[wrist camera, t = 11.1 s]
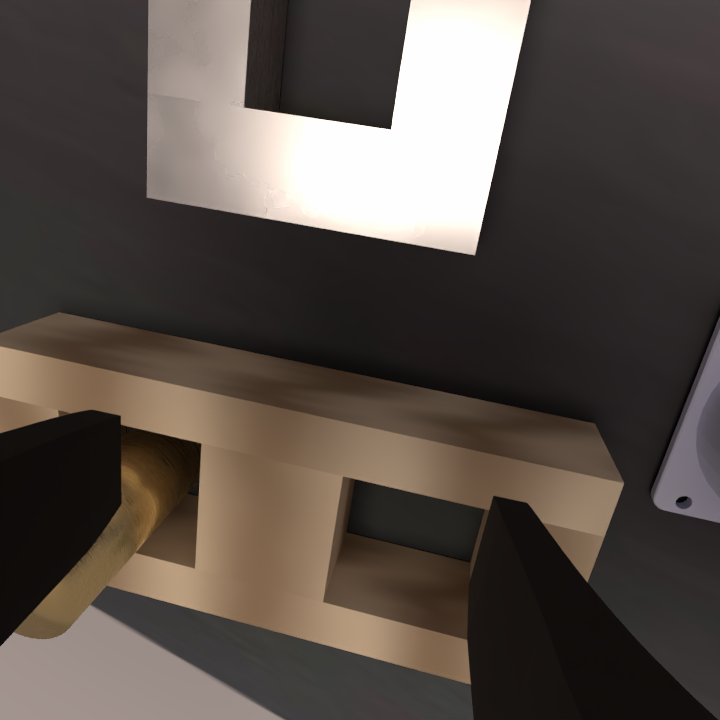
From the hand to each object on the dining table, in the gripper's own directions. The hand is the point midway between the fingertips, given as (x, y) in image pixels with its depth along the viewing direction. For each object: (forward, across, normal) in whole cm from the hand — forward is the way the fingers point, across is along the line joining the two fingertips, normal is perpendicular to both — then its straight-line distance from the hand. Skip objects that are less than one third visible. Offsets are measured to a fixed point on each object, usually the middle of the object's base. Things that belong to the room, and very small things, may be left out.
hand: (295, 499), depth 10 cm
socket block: (+10, +2, -9) cm, 14 cm away
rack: (+10, +2, +6) cm, 12 cm away
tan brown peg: (+11, +7, +6) cm, 14 cm away
